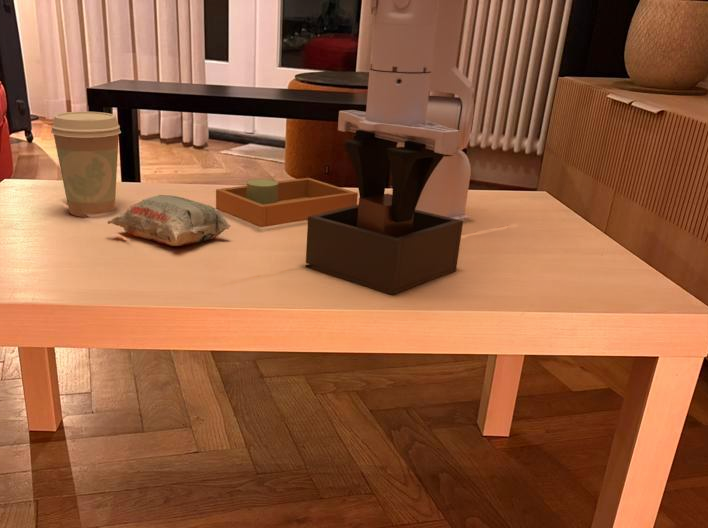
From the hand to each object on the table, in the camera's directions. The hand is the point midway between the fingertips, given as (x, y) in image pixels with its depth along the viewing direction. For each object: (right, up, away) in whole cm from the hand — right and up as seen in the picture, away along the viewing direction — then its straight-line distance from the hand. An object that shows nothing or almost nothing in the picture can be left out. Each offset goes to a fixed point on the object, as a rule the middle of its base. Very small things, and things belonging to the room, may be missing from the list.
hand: (386, 215), depth 78 cm
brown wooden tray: (-10, +6, +25) cm, 28 cm away
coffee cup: (-35, +5, +23) cm, 42 cm away
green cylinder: (-13, +5, +23) cm, 27 cm away
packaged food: (-24, -1, +12) cm, 26 cm away
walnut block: (0, -2, +1) cm, 2 cm away
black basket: (0, -5, +5) cm, 7 cm away
